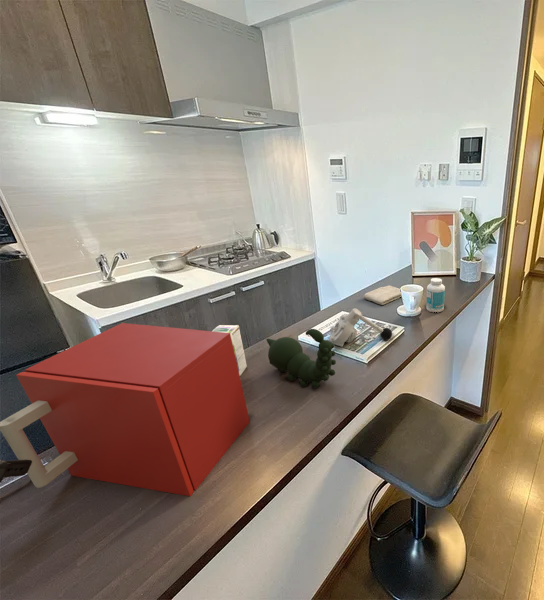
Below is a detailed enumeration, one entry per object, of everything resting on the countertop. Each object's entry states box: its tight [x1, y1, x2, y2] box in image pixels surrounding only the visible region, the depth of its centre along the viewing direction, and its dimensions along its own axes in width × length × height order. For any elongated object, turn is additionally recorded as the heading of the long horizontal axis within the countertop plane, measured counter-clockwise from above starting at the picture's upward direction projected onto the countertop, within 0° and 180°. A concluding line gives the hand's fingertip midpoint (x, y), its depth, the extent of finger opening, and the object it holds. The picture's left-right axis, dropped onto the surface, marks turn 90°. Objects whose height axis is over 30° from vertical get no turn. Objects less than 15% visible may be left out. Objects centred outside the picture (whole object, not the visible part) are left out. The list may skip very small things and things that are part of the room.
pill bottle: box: [426, 277, 446, 314], centre depth 136 cm, size 8×7×14 cm
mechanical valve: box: [329, 307, 393, 348], centre depth 113 cm, size 10×18×15 cm
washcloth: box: [363, 284, 402, 306], centre depth 150 cm, size 12×18×3 cm, turn 140°
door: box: [0, 371, 195, 497], centre depth 55 cm, size 7×26×24 cm, turn 81°
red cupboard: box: [24, 322, 251, 491], centre depth 67 cm, size 18×26×24 cm
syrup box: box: [212, 324, 248, 376], centre depth 94 cm, size 6×6×14 cm
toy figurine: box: [265, 328, 337, 389], centre depth 91 cm, size 9×19×25 cm
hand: (6, 463), depth 52 cm, fingers open, 8 cm apart
